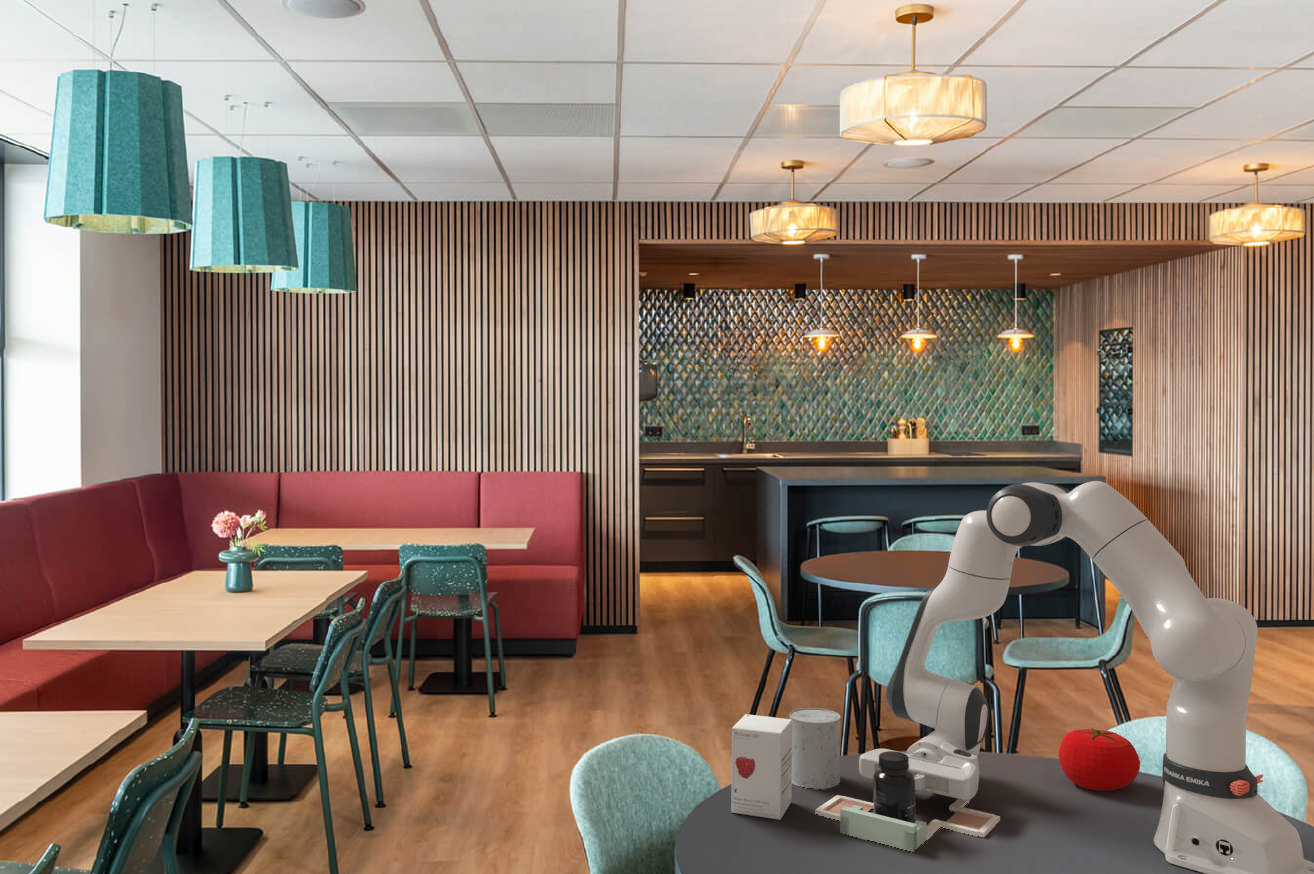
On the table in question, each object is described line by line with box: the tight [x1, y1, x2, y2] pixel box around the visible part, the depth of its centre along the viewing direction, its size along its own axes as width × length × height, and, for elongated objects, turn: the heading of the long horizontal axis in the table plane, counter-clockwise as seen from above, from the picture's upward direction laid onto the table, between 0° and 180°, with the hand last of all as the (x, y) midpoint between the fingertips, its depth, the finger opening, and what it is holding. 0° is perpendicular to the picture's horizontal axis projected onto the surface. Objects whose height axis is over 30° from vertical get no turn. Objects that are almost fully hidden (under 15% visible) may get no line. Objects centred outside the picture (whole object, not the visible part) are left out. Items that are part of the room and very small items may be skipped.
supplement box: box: [730, 713, 793, 821], centre depth 175 cm, size 9×9×15 cm
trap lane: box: [814, 794, 1001, 853], centre depth 171 cm, size 26×26×4 cm
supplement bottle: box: [872, 750, 917, 823], centre depth 166 cm, size 7×7×12 cm
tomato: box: [1058, 727, 1141, 792], centre depth 186 cm, size 14×13×10 cm
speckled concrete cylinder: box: [788, 707, 842, 790], centre depth 189 cm, size 10×10×12 cm
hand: (899, 785), depth 169 cm, fingers closed, pressing on supplement bottle
